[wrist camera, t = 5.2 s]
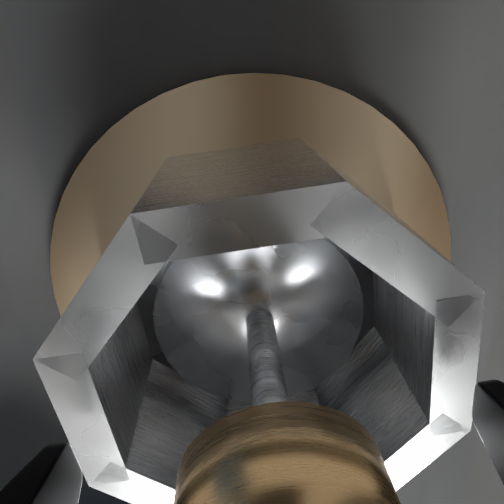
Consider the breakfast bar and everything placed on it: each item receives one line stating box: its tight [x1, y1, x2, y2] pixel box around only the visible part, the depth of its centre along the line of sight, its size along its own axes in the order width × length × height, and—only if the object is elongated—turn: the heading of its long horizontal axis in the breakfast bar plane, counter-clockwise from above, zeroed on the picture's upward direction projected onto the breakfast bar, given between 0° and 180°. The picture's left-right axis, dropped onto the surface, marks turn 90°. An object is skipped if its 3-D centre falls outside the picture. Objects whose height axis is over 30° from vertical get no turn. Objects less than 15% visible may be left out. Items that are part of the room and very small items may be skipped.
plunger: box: [153, 238, 401, 504], centre depth 9 cm, size 6×6×7 cm
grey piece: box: [33, 137, 486, 504], centre depth 12 cm, size 9×12×5 cm
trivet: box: [50, 73, 451, 316], centre depth 14 cm, size 13×13×1 cm
